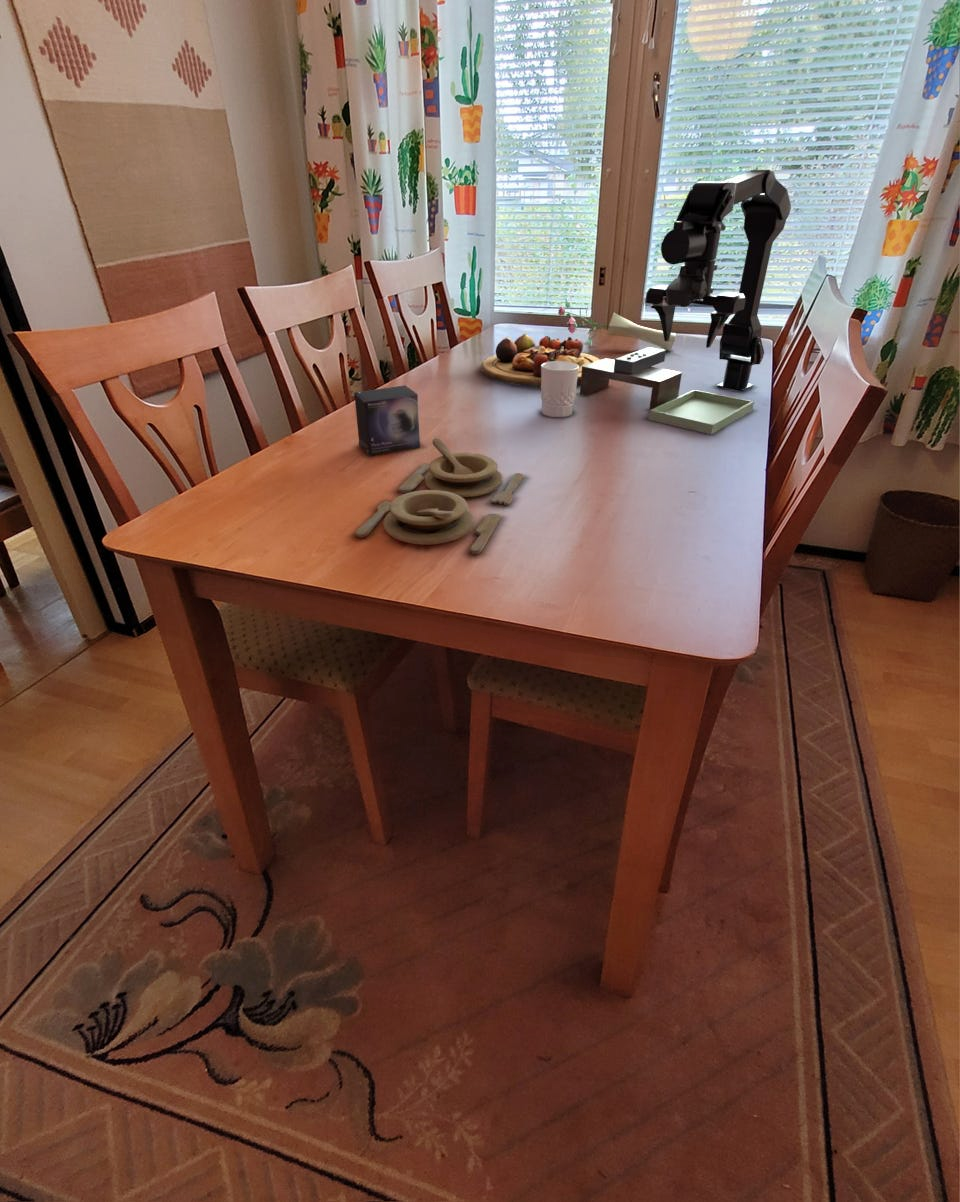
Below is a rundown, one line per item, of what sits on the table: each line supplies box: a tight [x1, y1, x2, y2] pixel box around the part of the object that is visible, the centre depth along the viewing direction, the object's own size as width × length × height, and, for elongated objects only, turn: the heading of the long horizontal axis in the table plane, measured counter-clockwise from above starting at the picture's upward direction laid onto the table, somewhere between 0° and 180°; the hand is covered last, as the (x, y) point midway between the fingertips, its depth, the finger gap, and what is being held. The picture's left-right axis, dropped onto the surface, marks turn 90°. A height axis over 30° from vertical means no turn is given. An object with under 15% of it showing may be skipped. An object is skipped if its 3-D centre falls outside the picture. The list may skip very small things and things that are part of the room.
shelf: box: [579, 357, 683, 412], centre depth 149 cm, size 10×20×6 cm, turn 48°
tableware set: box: [354, 437, 525, 555], centre depth 102 cm, size 30×20×6 cm, turn 164°
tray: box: [648, 389, 755, 435], centre depth 139 cm, size 20×14×2 cm
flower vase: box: [557, 299, 677, 352], centre depth 191 cm, size 12×12×35 cm
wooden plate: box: [481, 333, 601, 387], centre depth 168 cm, size 32×32×8 cm
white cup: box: [540, 361, 579, 418], centre depth 139 cm, size 8×8×10 cm
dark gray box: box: [614, 346, 667, 374], centre depth 148 cm, size 15×5×3 cm, turn 138°
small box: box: [353, 385, 421, 457], centre depth 122 cm, size 11×6×10 cm, turn 117°
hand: (686, 344), depth 133 cm, fingers open, 9 cm apart
